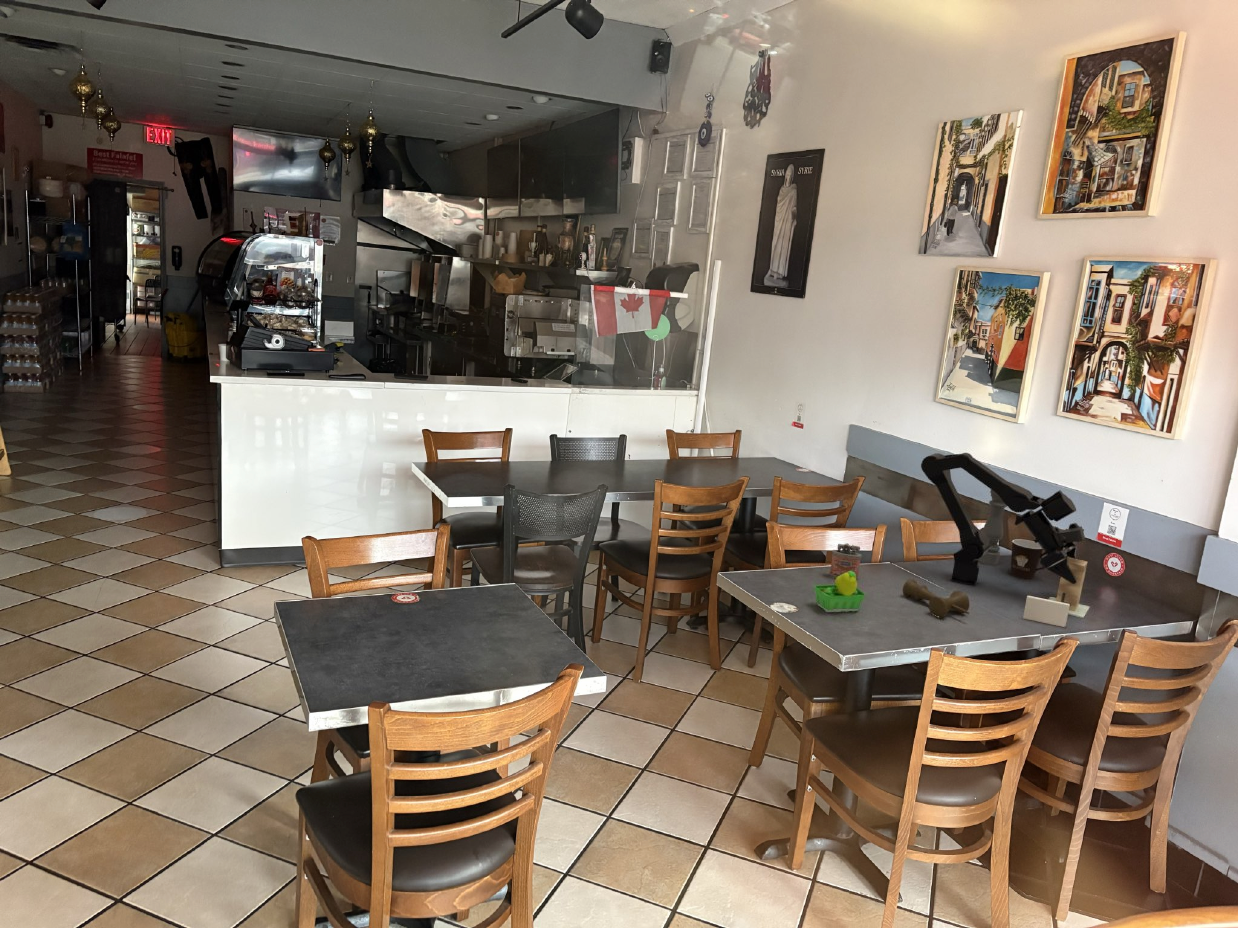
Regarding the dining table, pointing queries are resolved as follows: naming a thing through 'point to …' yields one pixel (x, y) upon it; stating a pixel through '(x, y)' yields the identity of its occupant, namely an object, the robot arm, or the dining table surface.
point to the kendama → (937, 599)
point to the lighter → (845, 560)
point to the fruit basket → (840, 593)
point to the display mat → (1079, 611)
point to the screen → (1046, 611)
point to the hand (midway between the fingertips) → (1078, 578)
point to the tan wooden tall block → (1072, 591)
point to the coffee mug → (1025, 558)
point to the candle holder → (994, 530)
